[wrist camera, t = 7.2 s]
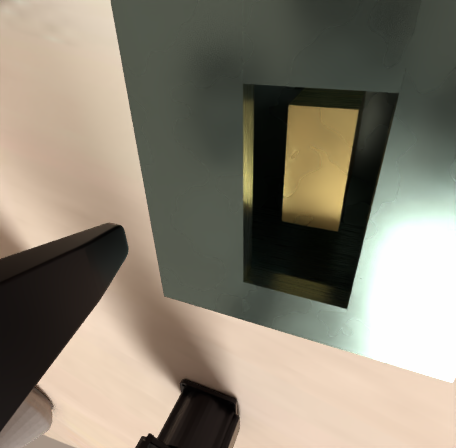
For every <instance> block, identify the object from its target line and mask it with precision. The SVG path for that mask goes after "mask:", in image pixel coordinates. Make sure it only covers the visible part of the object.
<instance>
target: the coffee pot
mask: <svg viewBox="0 0 456 448" xmlns="http://www.w3.org/2000/svg"><path fill="white" fill-rule="evenodd" d="M52 408H53V406H52V404H51V402H50V401H49V400H48V399H47V397H46V396H45V395H43V394H42V393H41V392H40V391H39V390H37V389H36V388H33V390H32V391H31V392H30V394H29V395H28V396H27V398H26V399H25V400H24V402H23V403H22V404H21V406H20V407H19V408H18V410H17V411H16V412H15V414H14V415H13V416H12V418H11V419H10V420H9V422H8V423H7V424H6V425H5V427H4V428H3V429H2V431H1V432H0V448H23V447H24V446H26V445H27V444H29V443H30V442H32V441H33V440H35V439H36V438H38V437H39V436H41V435H42V434H44V433H45V432H47V431H48V430H49V429H50V426H51V424H52V411H51V409H52Z"/></svg>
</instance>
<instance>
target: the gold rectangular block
mask: <svg viewBox="0 0 456 448" xmlns="http://www.w3.org/2000/svg"><path fill="white" fill-rule="evenodd" d="M365 97H366V91H355V90H338V89H322V88H304V89H303V90H302V91H301V92H300V93H299V95H298V96H297V97H296V98H295V99H294V100H293V101H292V102H291V103H290V104H289V106H288V123H287V140H286V157H285V174H284V191H283V207H282V221H283V222H288V223H294V224H299V225H305V226H310V227H316V228H321V229H326V230H332V231H337V232H338V229H339V225H340V221H341V217H342V213H343V209H344V205H345V201H346V197H347V193H348V189H349V185H350V181H351V176H352V170H353V165H354V159H355V153H356V148H357V142H358V136H359V131H360V125H361V120H362V114H363V108H364V103H365Z"/></svg>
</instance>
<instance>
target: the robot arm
mask: <svg viewBox="0 0 456 448" xmlns="http://www.w3.org/2000/svg"><path fill="white" fill-rule="evenodd" d="M127 255H128V244H127V239H126V235H125V231H124V228H123V227H122V226H121V225H118V224H114V223H106V224H103V225H100V226H97V227H94V228H91V229H88V230H85V231H82V232H79V233H76V234H73V235H70V236H67V237H64V238H61V239H58V240H55V241H52V242H49V243H46V244H43V245H40V246H37V247H34V248H31V249H28V250H25V251H23V252H20V253H17V254H14V255H11V256H8V257H5V258H2V259H0V432H1V431H2V429H3V428H4V427H5V425H6V424H7V423H8V422H9V420H10V419H11V418H12V416H13V415H14V414H15V412H16V411H17V410H18V408H19V407H20V406H21V404H22V403H23V402H24V400H25V399H26V398H27V396H28V395H29V394H30V392H31V391H32V390H33V388H34V387H35V386H36V384H37V383H38V382H39V380H40V379H41V378H42V376H43V375H44V374H45V372H46V371H47V370H48V368H49V367H50V366H51V364H52V363H53V362H54V360H55V359H56V358H57V356H58V355H59V354H60V352H61V351H62V350H63V348H64V347H65V346H66V345H67V343H68V342H69V341H70V339H71V338H72V337H73V335H74V334H75V333H76V331H77V330H78V329H79V327H80V326H81V325H82V323H83V322H84V321H85V319H86V318H87V317H88V315H89V314H90V313H91V311H92V310H93V309H94V307H95V306H96V305H97V303H98V302H99V300H100V299H101V298H102V296H103V294H104V293H105V291H106V290H107V288H108V286H109V285H110V283H111V282H112V280H113V278H114V277H115V275H116V273H117V272H118V270H119V268H120V267H121V265H122V263H123V262H124V260H125V259H126V257H127ZM180 387H181V395H180V396H179V398H178V400H177V402H176V404H175V406H174V408H173V409H172V411H171V413H170V415H169V417H168V419H167V421H166V423H165V424H164V426H163V428H162V430H161V432H160V434H159V436H158V437H157V438H155V437H154V435H152V434H150V433H149V434H148V436H147V437H144V436H142V437H141V439H140V440H139V442H138V444H137V446H136V447H135V448H233V446H234V443H235V441H236V438H237V435H238V432H239V429H240V418H239V416H238V415H237V401H236V400H235V399H233V398H231V397H228V396H226V395H223V394H221V393H218V392H215V391H213V390H210V389H208V388H205V387H202V386H200V385H197V384H195V383H192V382H189V381H187V380H182V381H181V383H180Z"/></svg>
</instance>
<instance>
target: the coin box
mask: <svg viewBox="0 0 456 448" xmlns="http://www.w3.org/2000/svg"><path fill="white" fill-rule="evenodd" d="M111 6H112V11H113V17H114V22H115V28H116V33H117V39H118V44H119V50H120V55H121V61H122V66H123V72H124V77H125V83H126V88H127V94H128V99H129V105H130V111H131V116H132V122H133V127H134V133H135V138H136V144H137V149H138V155H139V160H140V166H141V171H142V177H143V182H144V188H145V193H146V199H147V204H148V210H149V215H150V221H151V226H152V232H153V237H154V243H155V248H156V254H157V260H158V265H159V271H160V276H161V282H162V287H163V293H164V296H165V297H169V298H172V299H175V300H179V301H182V302H185V303H189V304H192V305H195V306H198V307H202V308H205V309H208V310H212V311H215V312H218V313H222V314H225V315H228V316H232V317H235V318H238V319H242V320H245V321H248V322H252V323H255V324H258V325H262V326H265V327H268V328H272V329H275V330H278V331H282V332H285V333H288V334H292V335H295V336H298V337H302V338H305V339H308V340H311V341H315V342H318V343H321V344H325V345H328V346H331V347H335V348H338V349H341V350H345V351H348V352H351V353H355V354H358V355H361V356H365V357H368V358H371V359H375V360H378V361H381V362H385V363H388V364H391V365H395V366H398V367H401V368H405V369H408V370H411V371H415V372H418V373H421V374H424V375H428V376H431V377H434V378H438V379H441V380H444V381H448V382H451V383H452V382H453V381H454V379H455V377H456V0H111ZM304 88H322V89H338V90H355V91H366V97H365V103H364V108H363V114H362V120H361V125H360V131H359V136H358V142H357V148H356V153H355V159H354V165H353V170H352V176H351V181H350V185H349V189H348V193H347V197H346V201H345V205H344V209H343V213H342V217H341V221H340V225H339V229H338V232H337V231H332V230H326V229H321V228H316V227H310V226H305V225H299V224H294V223H288V222H283V221H282V207H283V191H284V174H285V157H286V140H287V123H288V106H289V104H290V103H291V102H292V101H293V100H294V99H295V98H296V97H297V96H298V95H299V93H300V92H301V91H302V90H303V89H304Z"/></svg>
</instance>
